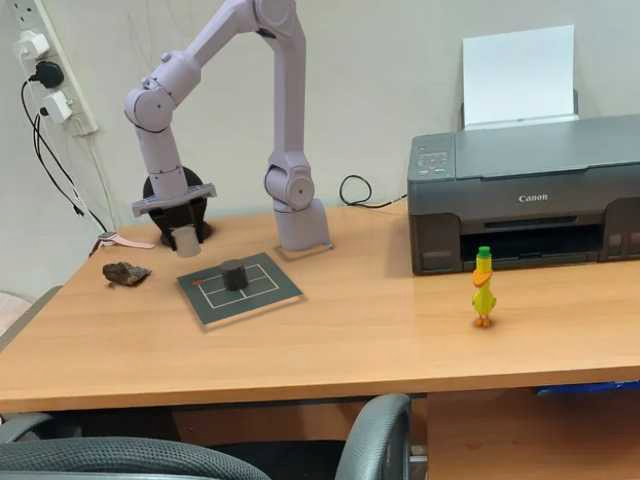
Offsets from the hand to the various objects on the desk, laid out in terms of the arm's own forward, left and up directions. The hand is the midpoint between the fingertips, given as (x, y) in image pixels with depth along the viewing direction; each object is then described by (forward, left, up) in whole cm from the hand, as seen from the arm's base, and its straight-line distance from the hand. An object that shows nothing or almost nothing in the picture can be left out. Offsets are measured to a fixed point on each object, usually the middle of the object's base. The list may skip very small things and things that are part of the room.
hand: (187, 245), depth 119 cm
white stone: (0, 0, -1) cm, 1 cm away
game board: (-6, +7, -8) cm, 12 cm away
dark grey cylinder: (-6, +7, -7) cm, 11 cm away
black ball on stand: (-4, -27, -8) cm, 29 cm away
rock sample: (+11, -11, -8) cm, 18 cm away
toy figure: (-35, +43, -8) cm, 56 cm away
